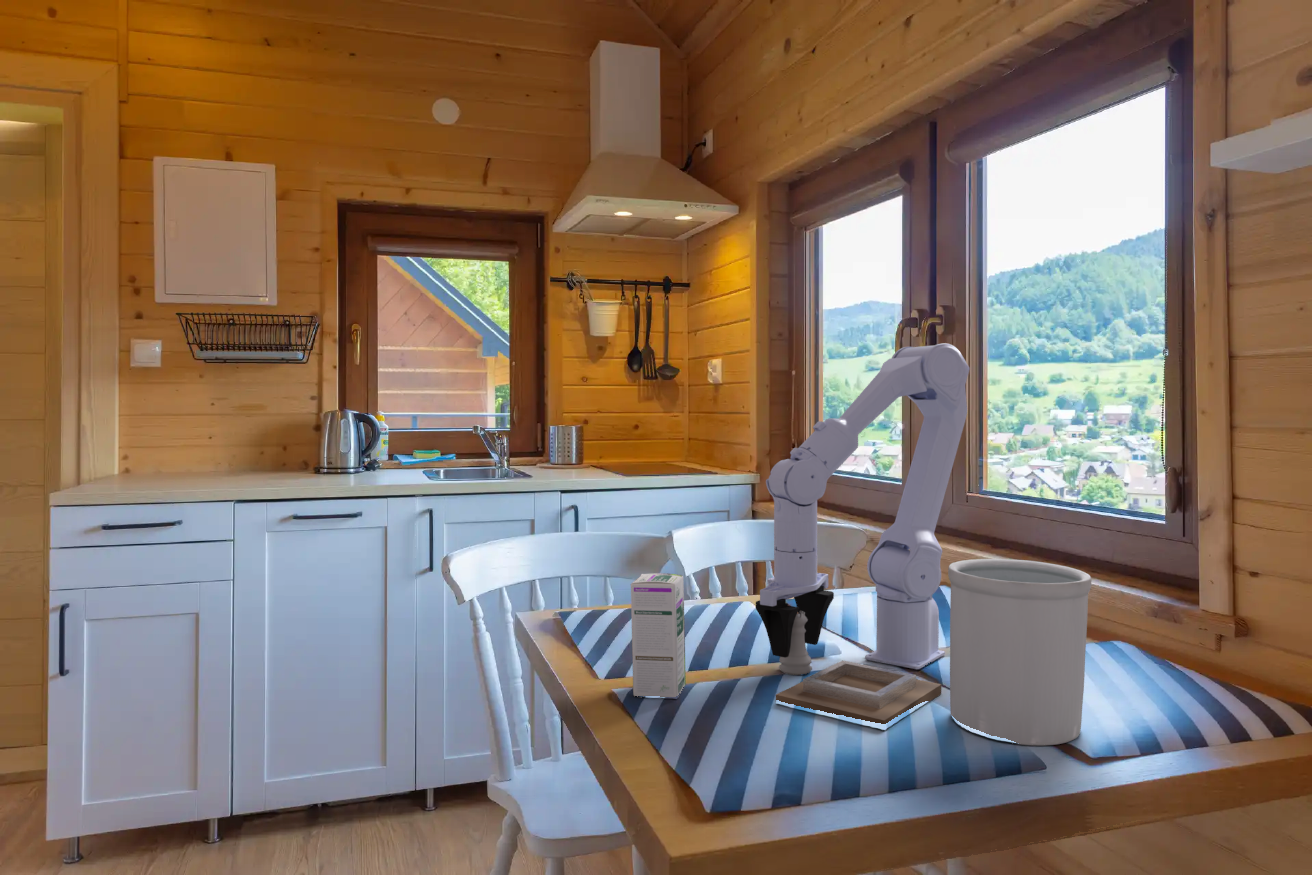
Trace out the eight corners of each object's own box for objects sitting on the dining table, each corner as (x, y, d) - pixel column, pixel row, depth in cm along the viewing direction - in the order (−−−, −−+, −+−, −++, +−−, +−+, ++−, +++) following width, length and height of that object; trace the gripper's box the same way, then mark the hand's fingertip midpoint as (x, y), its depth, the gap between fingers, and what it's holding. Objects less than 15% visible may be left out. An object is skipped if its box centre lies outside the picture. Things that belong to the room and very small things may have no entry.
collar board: (839, 672, 121) (839, 652, 121) (941, 693, 112) (941, 672, 112) (775, 704, 109) (775, 682, 108) (884, 730, 100) (884, 706, 100)
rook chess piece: (814, 667, 123) (814, 609, 123) (809, 677, 119) (809, 617, 119) (782, 664, 125) (782, 607, 124) (775, 674, 120) (775, 614, 120)
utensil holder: (1033, 697, 111) (1034, 555, 110) (1119, 742, 96) (1122, 578, 95) (922, 706, 108) (923, 560, 107) (995, 754, 93) (997, 586, 92)
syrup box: (678, 700, 110) (677, 582, 110) (631, 697, 111) (630, 580, 111) (686, 685, 116) (685, 573, 115) (641, 683, 117) (640, 571, 116)
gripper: (797, 539, 129) (797, 633, 130) (740, 553, 118) (740, 656, 119) (842, 544, 125) (841, 641, 125) (786, 559, 113) (786, 666, 114)
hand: (795, 649), depth 122 cm, fingers open, 7 cm apart
